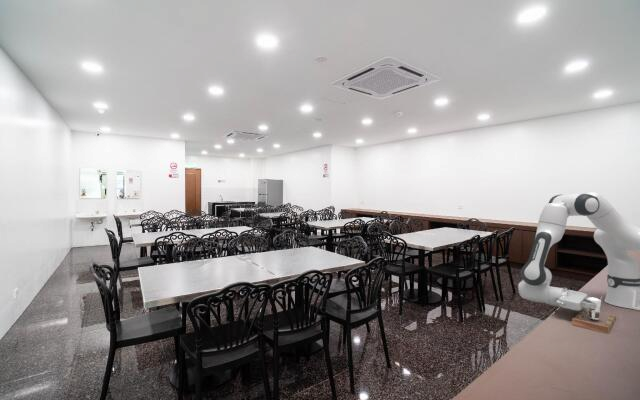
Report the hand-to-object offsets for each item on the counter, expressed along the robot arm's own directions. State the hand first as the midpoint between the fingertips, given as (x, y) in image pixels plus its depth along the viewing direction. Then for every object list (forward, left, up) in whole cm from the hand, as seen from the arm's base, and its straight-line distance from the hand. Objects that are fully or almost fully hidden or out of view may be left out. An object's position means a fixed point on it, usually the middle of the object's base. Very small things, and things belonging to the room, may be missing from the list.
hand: (597, 305), depth 133 cm
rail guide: (+2, +1, -7) cm, 7 cm away
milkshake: (+1, -1, -6) cm, 6 cm away
